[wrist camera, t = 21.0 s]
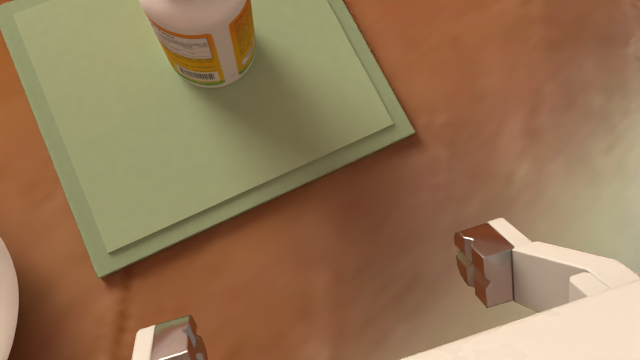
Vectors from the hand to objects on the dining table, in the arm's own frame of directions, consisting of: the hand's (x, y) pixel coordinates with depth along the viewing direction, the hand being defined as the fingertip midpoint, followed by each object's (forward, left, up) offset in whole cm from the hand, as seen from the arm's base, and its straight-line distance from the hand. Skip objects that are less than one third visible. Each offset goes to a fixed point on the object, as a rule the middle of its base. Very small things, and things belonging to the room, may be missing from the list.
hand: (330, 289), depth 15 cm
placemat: (0, -15, -13) cm, 20 cm away
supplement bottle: (-1, -16, -13) cm, 20 cm away
